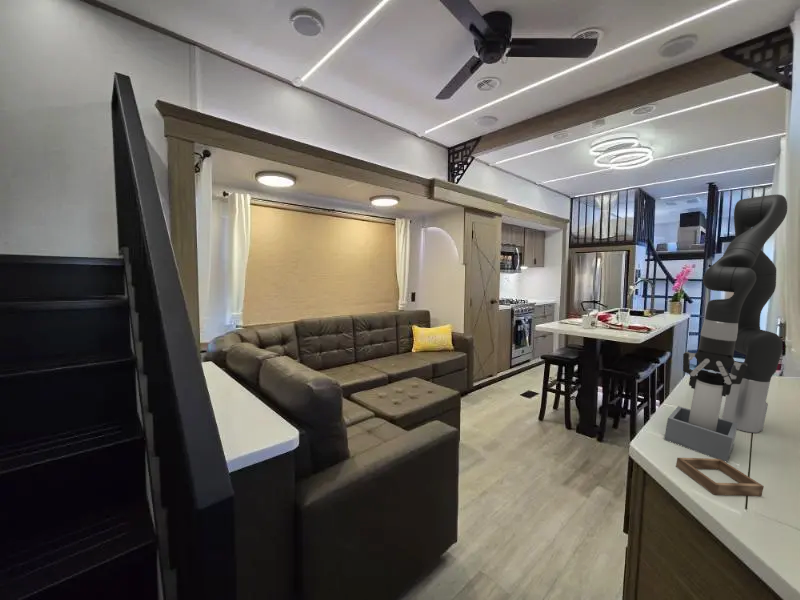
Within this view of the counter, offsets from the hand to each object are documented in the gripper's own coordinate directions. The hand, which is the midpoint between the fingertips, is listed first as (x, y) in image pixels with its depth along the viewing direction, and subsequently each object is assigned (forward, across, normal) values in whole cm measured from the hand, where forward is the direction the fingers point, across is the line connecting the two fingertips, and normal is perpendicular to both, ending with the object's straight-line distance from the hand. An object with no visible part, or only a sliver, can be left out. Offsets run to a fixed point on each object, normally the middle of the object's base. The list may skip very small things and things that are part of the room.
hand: (708, 391), depth 100 cm
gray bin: (+16, 0, 0) cm, 16 cm away
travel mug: (+14, 0, 0) cm, 14 cm away
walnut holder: (+16, -6, +20) cm, 27 cm away
